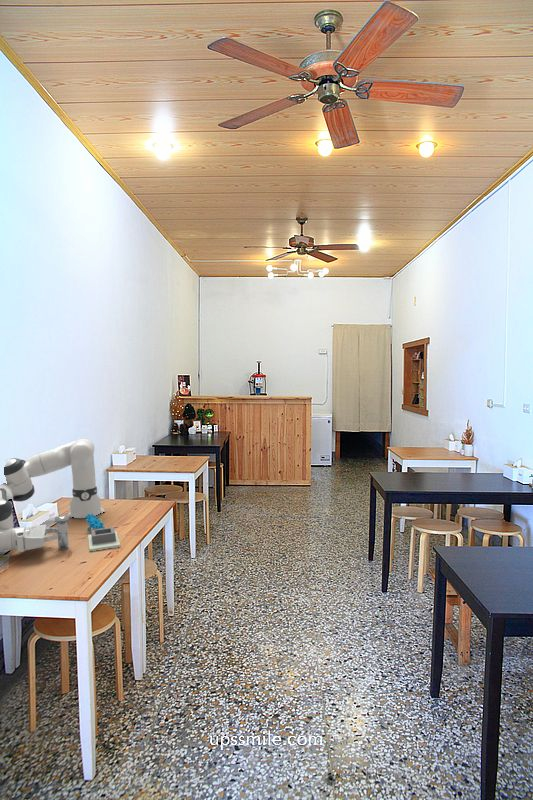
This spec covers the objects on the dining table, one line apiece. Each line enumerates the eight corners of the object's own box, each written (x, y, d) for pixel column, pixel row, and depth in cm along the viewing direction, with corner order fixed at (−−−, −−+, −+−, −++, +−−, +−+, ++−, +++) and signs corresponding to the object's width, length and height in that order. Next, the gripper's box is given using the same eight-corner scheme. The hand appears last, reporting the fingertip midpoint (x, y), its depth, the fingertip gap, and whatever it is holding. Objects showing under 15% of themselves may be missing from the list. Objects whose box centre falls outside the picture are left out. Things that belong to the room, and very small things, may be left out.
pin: (56, 547, 211) (54, 516, 210) (70, 545, 213) (69, 514, 212) (56, 551, 206) (54, 519, 205) (70, 549, 208) (68, 517, 207)
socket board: (88, 537, 222) (87, 527, 222) (116, 533, 226) (115, 523, 226) (89, 552, 204) (88, 540, 203) (120, 547, 208) (119, 536, 208)
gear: (97, 530, 226) (83, 514, 228) (88, 539, 227) (75, 523, 229) (109, 526, 237) (96, 511, 239) (101, 535, 238) (88, 519, 240)
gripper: (23, 538, 213) (58, 533, 218) (18, 553, 194) (57, 548, 199) (22, 523, 212) (58, 519, 217) (17, 537, 193) (56, 532, 198)
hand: (57, 533), depth 208 cm, fingers open, 8 cm apart
